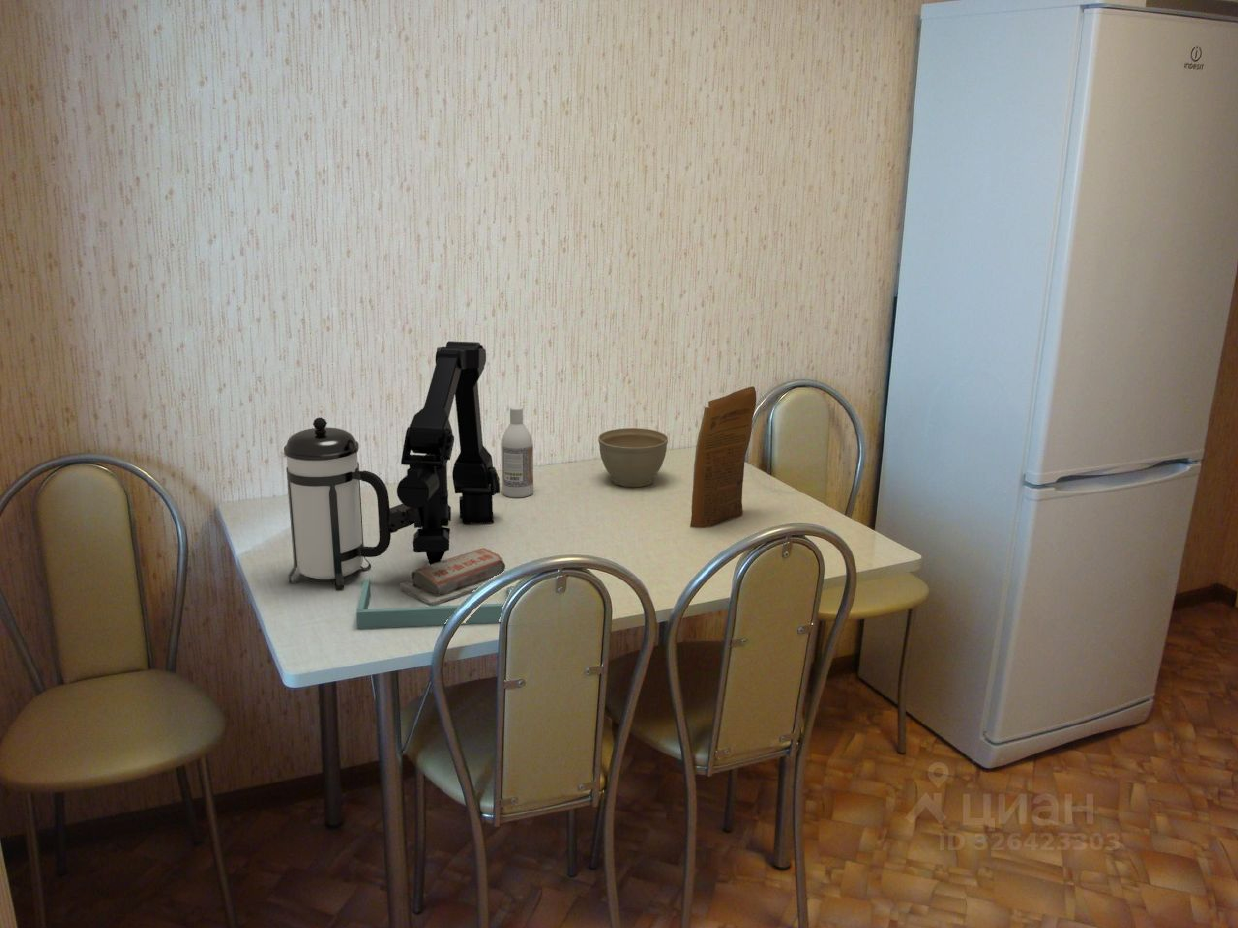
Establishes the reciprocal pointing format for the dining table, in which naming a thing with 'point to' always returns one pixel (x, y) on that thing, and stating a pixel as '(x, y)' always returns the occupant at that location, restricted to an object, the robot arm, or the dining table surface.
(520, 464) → the bath foam
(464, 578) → the packaged product
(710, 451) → the pancake mix bag
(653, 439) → the planter bowl
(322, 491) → the coffee press
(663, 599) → the dining table surface
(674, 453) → the dining table surface
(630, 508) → the dining table surface
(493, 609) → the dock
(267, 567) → the dining table surface
